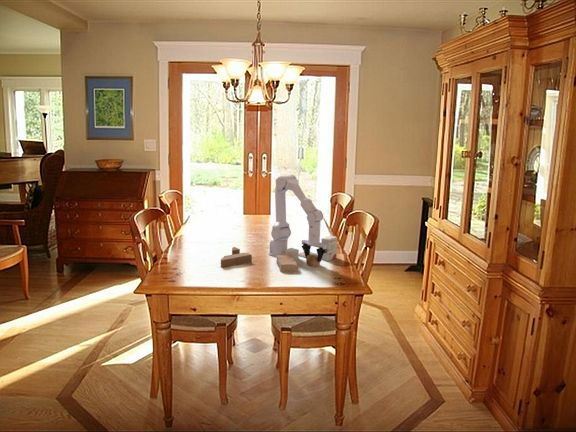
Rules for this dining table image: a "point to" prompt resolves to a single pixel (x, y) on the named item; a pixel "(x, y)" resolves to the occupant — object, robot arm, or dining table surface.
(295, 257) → the cream cube
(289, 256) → the brick
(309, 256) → the walnut block
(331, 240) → the ink box
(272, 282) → the dining table surface
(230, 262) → the wooden block set
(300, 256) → the card
